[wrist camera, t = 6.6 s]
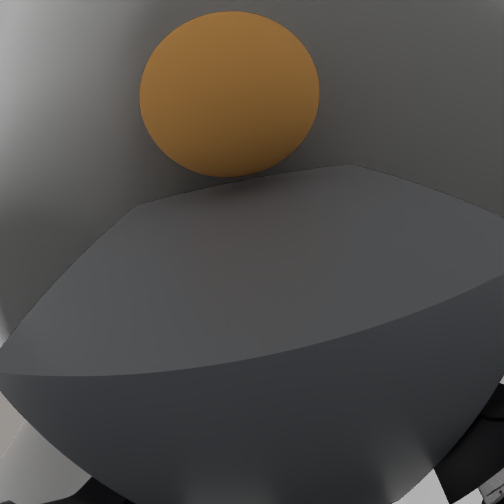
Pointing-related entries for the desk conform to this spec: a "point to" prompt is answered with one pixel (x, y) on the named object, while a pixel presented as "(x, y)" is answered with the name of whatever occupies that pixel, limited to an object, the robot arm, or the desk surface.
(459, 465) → the robot arm
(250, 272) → the large grey box
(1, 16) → the desk surface
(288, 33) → the ball
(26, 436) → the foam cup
